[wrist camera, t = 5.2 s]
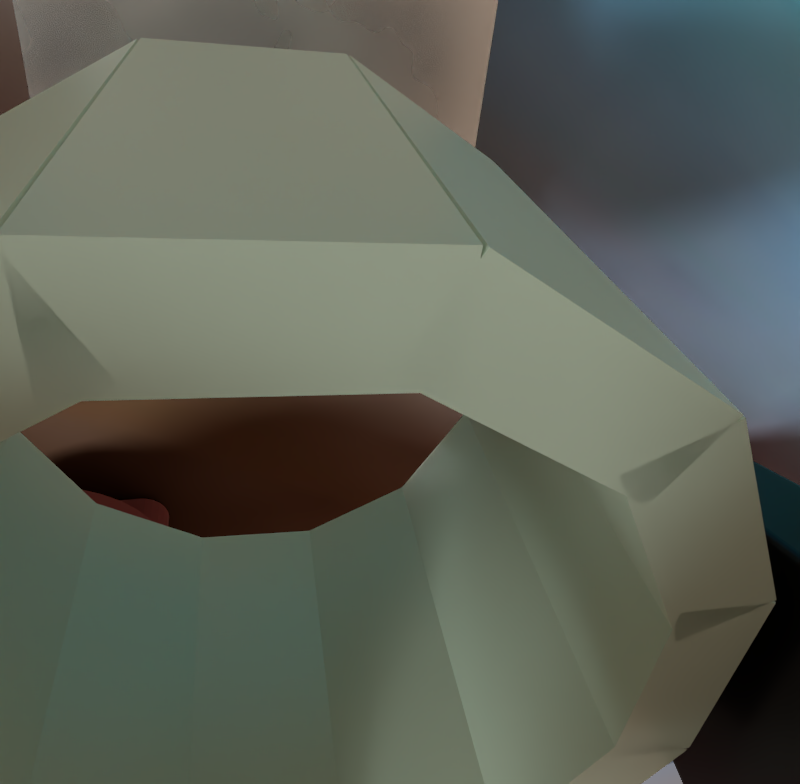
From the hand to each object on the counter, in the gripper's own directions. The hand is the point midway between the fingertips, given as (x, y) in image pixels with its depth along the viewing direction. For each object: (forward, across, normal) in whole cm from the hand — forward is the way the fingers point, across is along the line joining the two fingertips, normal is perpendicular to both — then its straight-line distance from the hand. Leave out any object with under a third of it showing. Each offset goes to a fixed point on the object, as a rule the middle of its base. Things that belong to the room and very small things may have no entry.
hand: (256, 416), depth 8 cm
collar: (+1, 0, 0) cm, 1 cm away
